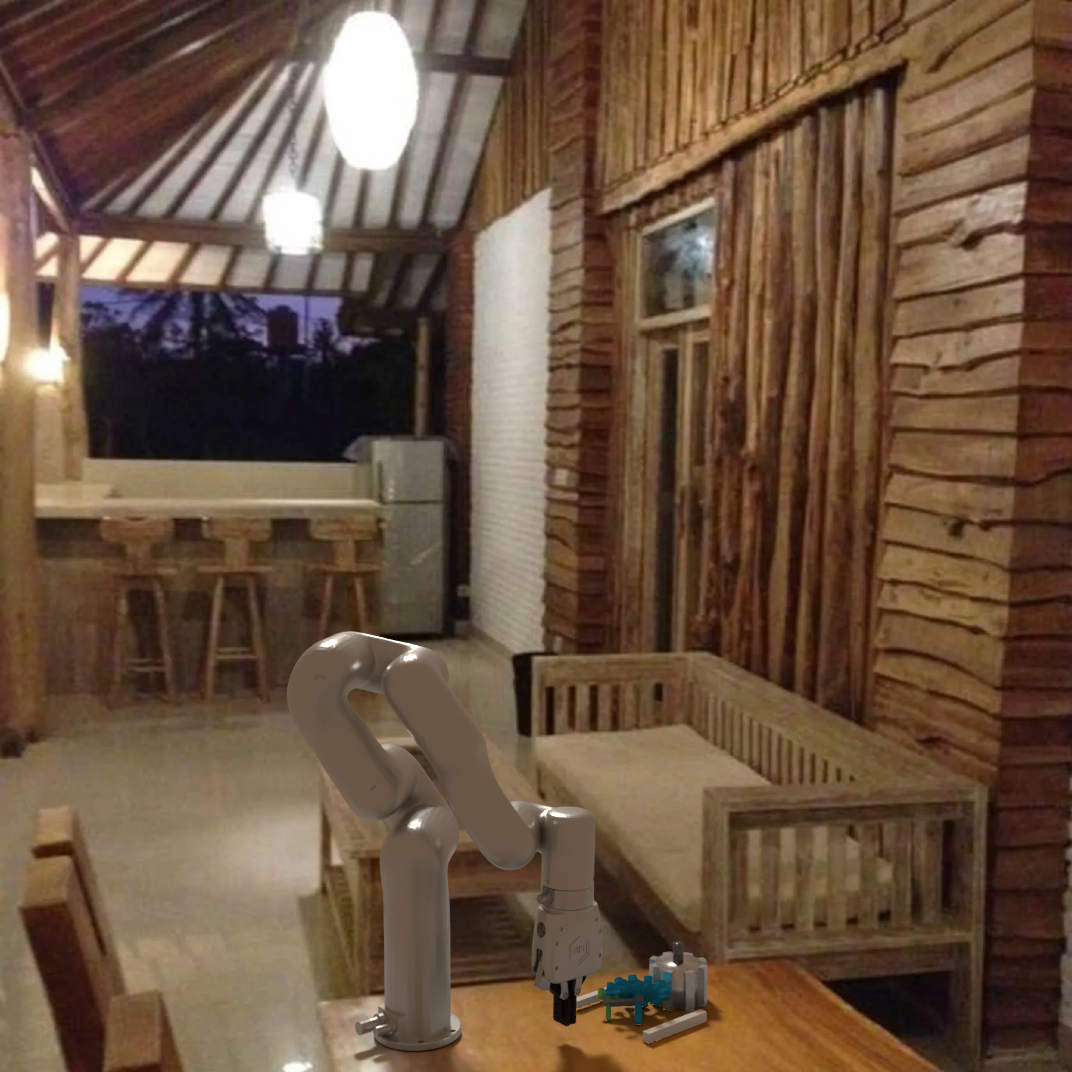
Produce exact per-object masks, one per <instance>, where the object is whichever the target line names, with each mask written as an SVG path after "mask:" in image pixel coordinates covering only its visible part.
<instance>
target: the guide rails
mask: <svg viewBox="0 0 1072 1072" xmlns="http://www.w3.org/2000/svg"><path fill="white" fill-rule="evenodd" d="M603 988H604V989H607V986H606V987H603ZM576 997H577V1003H576V1008H581V1007H582V1006H585V1005H590V1004H591V1003H594V1002H598V1001H600V1000H603V999H598V989H597V990H595V991H592V992H589V993H585V994H583V995H581V996H576ZM707 1013H708V1012H707V1011H706V1010H704V1009H701V1008H700V1009H698V1010H694V1011H692V1012H688V1013H686V1014H684V1015H682V1016H679V1017H677V1018H674V1019H672V1020H669V1021H666V1022H664V1023H662V1024H658V1025H656V1026H654V1027H651V1028H647V1029H646V1030H642V1041H643V1040H644V1041H645V1042H648V1043H651V1042H653V1043H655V1042H654V1041H656V1040H659V1039H661V1040H663V1039H662V1038H664V1037H666V1038H668V1036H669V1037H671V1036H673V1034H674V1035H676V1034H679V1033H681V1032H683V1031H687V1030H689V1029H691V1028H695V1027H697V1026H699V1025H702V1024H704V1023H706V1022H708V1021H707V1018H708V1017H707V1016H708V1015H707ZM664 1039H665V1038H664ZM659 1041H660V1040H659ZM645 1042H644V1043H645ZM656 1042H657V1041H656ZM651 1044H652V1043H651Z"/></svg>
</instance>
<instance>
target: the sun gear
mask: <svg viewBox="0 0 1072 1072" xmlns="http://www.w3.org/2000/svg"><path fill="white" fill-rule="evenodd" d="M684 945H685V944H684V941H682V940H681V941H680V940H675V941H673V942H672V951H665V952H662V954H661V955H659V956H656V955H651V956H650V958H649V959H648V960H649V961H648V963H649V964H648V965H649V966H648V967H649V969H648V971H649V972H648V976H652V977H653V983H652V984H656V983H657V980H658V979H661V980H664V981H666V985H669V986H670V987H671V988H672V994H670V999H669V1001H665V1000H662V1004H661V1006H663V1007H662V1010H663V1009H665V1010H667V1011H666V1012H669V1011H671V1013H673V1011H674V1009H677V1010H676V1011H684V1012H685V1013H692V1012H695V1009H696V1008H698V1007H700V1008H705V1007H707V1005H708V979H709V978H708V971H709V970H708V968H709V967H708V960H707V959H706V958H705V957H696V956H694V953H693V952H688V951H687V952H686V951H685V950H684V948H685V947H684ZM661 1006H660V1007H661Z"/></svg>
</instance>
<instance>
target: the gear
mask: <svg viewBox="0 0 1072 1072" xmlns="http://www.w3.org/2000/svg"><path fill="white" fill-rule="evenodd" d="M652 983H653V977H652V976H649V975H643V980H641V979H639V978H638V976H637V974H629V975H627V979H625V978H624V977H621V976H617V977H614V979H613V982H611V981H607V982H606V987H607V989H604V988H605V987H598V988H597V990H598V999H603V1002H602V1005H603V1007H605V1020H606V1019H607V1020H610V1019H611V1020H612V1008H615V1007H625V1006H632V1007H634V1025H635V1024H641V1025H643V1023H642V1021H643V1019H642V1018H643V1015H642V1013H643V1012H642V1006H643V1007H645V1008H649V1004H650V1003H652V1004H654V1005H655V1006H656V1007H657V1006H659V1005H661V1004H662V1000H665V1001H669V999H670V994H672V988H671V987H670V986H669V985H666V981H664V980H661V979H658V980H657V983H656V984H652Z"/></svg>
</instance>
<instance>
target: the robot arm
mask: <svg viewBox="0 0 1072 1072" xmlns="http://www.w3.org/2000/svg"><path fill="white" fill-rule="evenodd" d="M449 680H450V673H449V668H448V665H447V663H446V661H445V659H444V658H443V657H442V656H441V655H440V654H439V653H437V652H436V651H435V650H432V649H430V648H429V647H425V646H421V645H416V644H413V643H408V642H403V641H398V640H393V639H390V638H389V639H388V638H385V637H380V636H377V635H372V634H368V633H364V632H358V631H341V632H338V633H335V634H333V635H331V636H329V637H326V638H323V639H321V640H319V641H317V642H315V643H313V644H312V645H311V646H310V647H309V648H307V649H305V651H304V652H303V653H302V654H301V656H300V657H299V658H298V660H296V663H295V664H294V666H293V668H292V671H291V673H290V675H289V679H288V682H287V689H286V702H287V707H288V711H289V714H290V717H291V720H292V721H293V723H294V726H295V727H296V729H297V730H298V732H299V734H300V735H301V736H302V738H303V740H304V741H305V742H306V744H307V745H308V746H309V748H310V750H311V752H313V754H314V755H315V757H316V759H317V760H318V761H319V763H320V765H321V767H322V768H323V770H324V771H325V773H326V774H327V775H328V777H329V778H330V780H331V782H332V783H333V785H334V786H335V788H336V789H337V790H338V792H339V793H340V795H341V797H342V798H343V799H344V801H345V803H346V804H347V806H348V807H349V809H350V810H351V811H352V812H353V814H355V816H357V817H359V818H360V819H362V820H364V821H367V822H371V823H373V822H382V821H384V822H385V824H386V825H387V826H388V828H389V831H388V832H387V834H386V836H385V837H384V840H383V843H382V845H381V850H380V856H379V872H380V880H381V881H380V882H381V887H382V900H383V901H382V903H383V906H382V907H383V932H384V933H383V939H384V941H383V945H384V946H383V947H384V949H383V954H384V956H383V959H384V960H383V962H384V964H383V966H384V968H383V969H384V972H383V974H384V977H383V978H384V1003H383V1004H378V1006H377V1008H378V1009H377V1012H376V1013H374V1014H373V1017H369V1018H365V1019H361V1020H358V1021H356V1022H355V1025H354V1028H355V1032H356V1034H357V1035H358V1036H363V1035H365V1034H366V1035H367V1034H369V1033H373V1036H374V1038H375V1040H376V1041H377V1042H379V1044H381V1045H383V1046H385V1047H387V1048H390V1049H394V1050H398V1051H405V1052H408V1051H409V1052H421V1051H422V1052H424V1051H428V1050H435V1049H438V1048H439V1049H441V1048H442V1047H445V1046H448V1045H450V1044H451V1043H453V1042H455V1041H456V1040H457V1039H458V1038H459V1037H460V1036H461V1033H462V1022H461V1020H460V1019H459V1017H458V1016H456V1015H454V1014H453V1013H451V921H450V920H451V916H450V915H451V912H450V904H451V903H450V891H449V881H448V880H449V879H448V872H449V871H448V870H449V869H448V868H449V867H448V866H449V863H450V860H451V859H452V857H453V855H454V854H455V852H456V850H457V847H458V844H459V841H460V826H459V823H460V824H461V826H462V827H463V829H464V830H465V832H466V833H467V835H468V836H469V838H470V839H471V841H472V842H473V843H474V845H475V846H476V847H477V849H478V850H479V852H480V853H481V854H482V855H483V857H485V859H486V860H488V862H489V863H491V864H492V865H493V866H494V867H497V868H498V869H501V870H504V871H516V870H519V869H522V868H524V867H525V866H526V865H528V864H529V863H530V862H531V861H532V859H533V858H534V857H535V855H536V853H540V855H541V875H540V876H541V878H540V879H541V880H540V881H541V882H540V883H541V884H540V887H541V888H540V894H537V896H536V901H537V904H539V905H540V906H538V908H537V912H536V916H535V921H534V928H533V935H532V936H533V937H532V945H531V969H532V973H533V975H535V978H534V979H535V980H534V983H533V986H534V988H535V989H538V990H540V991H548V992H549V993H550V994H551V995H553V1000H552V1001H553V1003H552V1004H553V1005H552V1019H553V1021H555V1022H557V1023H559V1024H560V1025H562V1026H564V1027H570V1026H571V1025H574V1024H576V1023H577V1011H576V1003H577V997H579V995H580V994H581V990H582V986H583V984H584V983H585V981H586V979H589V978H590V977H591V976H593V975H594V974H596V972H597V971H599V970H600V969H601V968H602V965H603V950H604V949H603V932H602V931H603V929H602V920H601V915H600V909H599V904H598V903H597V901H595V899H594V898H595V895H594V893H595V857H596V854H595V853H596V852H595V851H596V818H595V816H594V814H593V813H592V812H591V811H590V810H589V809H586V808H583V807H580V806H571V805H569V806H568V805H567V806H565V805H563V806H556V807H555V806H548V805H543V804H539V803H534V802H529V801H524V800H512V801H510V800H509V799H508V797H507V796H506V794H505V792H504V791H503V790H502V788H501V786H500V784H499V783H498V781H497V779H496V776H495V774H494V772H493V769H492V765H491V763H490V757H489V753H488V747H487V743H486V742H487V741H486V740H485V737H484V734H483V732H482V730H481V729H480V728H479V726H478V725H477V724H476V722H475V721H474V719H473V718H472V717H471V715H470V714H469V713H468V711H467V710H466V708H465V707H464V705H463V704H462V702H461V701H460V700H459V699H458V697H457V695H456V694H455V693H454V691H453V690H452V688H451V687H450V685H449ZM356 689H357V690H362V691H367V692H372V693H376V694H380V695H383V698H384V700H385V701H386V702H387V704H388V705H389V707H390V709H391V710H392V712H393V713H394V714H395V716H396V717H397V719H399V721H400V723H401V724H402V725H403V727H404V728H405V729H406V731H407V732H408V734H409V735H410V737H411V738H412V740H413V741H414V742H415V744H416V745H417V746H418V748H419V749H420V750H421V752H422V754H423V755H424V756H425V758H426V759H427V760H428V762H429V764H430V765H431V767H432V768H433V771H434V772H435V774H436V777H437V779H438V782H439V784H440V787H441V788H442V789H443V793H444V794H445V797H446V798H447V800H448V802H449V804H448V803H447V802H446V800H445V798H444V796H442V794H441V793H440V791H439V790H438V789H437V787H436V785H435V784H434V783H433V781H432V780H431V778H430V777H429V775H428V774H427V772H426V770H425V769H424V768H423V766H422V765H421V764H420V763H419V761H418V759H416V758H415V756H413V754H411V753H410V751H408V750H407V749H406V748H404V747H402V746H399V745H397V744H394V743H380V742H379V741H378V739H377V738H376V737H375V734H373V732H372V731H371V729H370V728H369V726H368V724H367V723H366V721H365V719H364V718H362V716H361V715H360V714H359V713H358V712H357V711H356V710H355V709H354V708H353V706H352V705H351V704H350V702H349V699H348V696H349V693H350V692H351V691H353V690H356ZM449 805H450V806H451V807H450V806H449ZM451 808H452V809H451ZM458 821H459V823H458Z"/></svg>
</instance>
